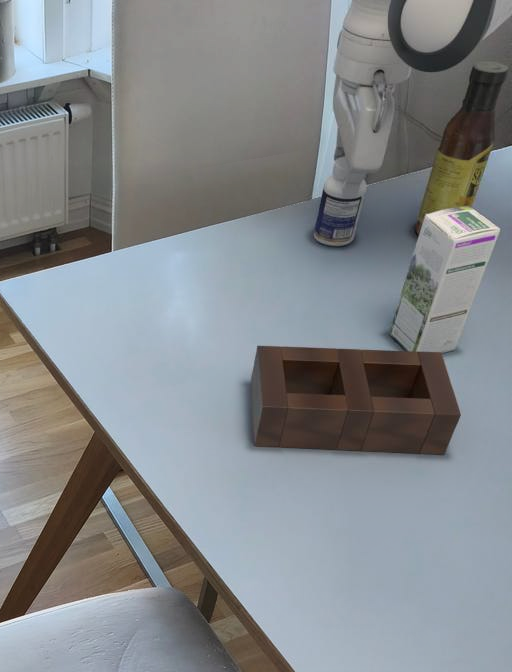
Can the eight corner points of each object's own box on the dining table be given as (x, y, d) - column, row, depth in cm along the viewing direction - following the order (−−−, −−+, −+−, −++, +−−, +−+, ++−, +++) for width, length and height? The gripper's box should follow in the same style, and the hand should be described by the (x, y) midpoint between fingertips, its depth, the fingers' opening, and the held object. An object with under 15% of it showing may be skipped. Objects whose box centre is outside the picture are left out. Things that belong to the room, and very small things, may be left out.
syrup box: (456, 350, 102) (505, 227, 91) (411, 360, 101) (455, 236, 90) (429, 325, 106) (472, 202, 94) (385, 334, 105) (423, 212, 93)
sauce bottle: (460, 247, 117) (520, 79, 101) (411, 241, 118) (463, 75, 103) (461, 224, 121) (519, 59, 105) (414, 219, 122) (464, 55, 107)
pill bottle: (322, 224, 122) (339, 149, 114) (359, 234, 120) (379, 159, 112) (306, 240, 119) (322, 165, 112) (343, 251, 117) (363, 175, 110)
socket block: (426, 391, 97) (441, 351, 94) (444, 454, 91) (461, 414, 87) (249, 384, 99) (257, 345, 95) (254, 446, 92) (262, 406, 89)
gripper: (417, 91, 96) (380, 217, 107) (390, 26, 109) (359, 145, 120) (358, 90, 97) (327, 216, 107) (338, 26, 109) (312, 144, 120)
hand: (344, 178), depth 114 cm, fingers open, 8 cm apart
